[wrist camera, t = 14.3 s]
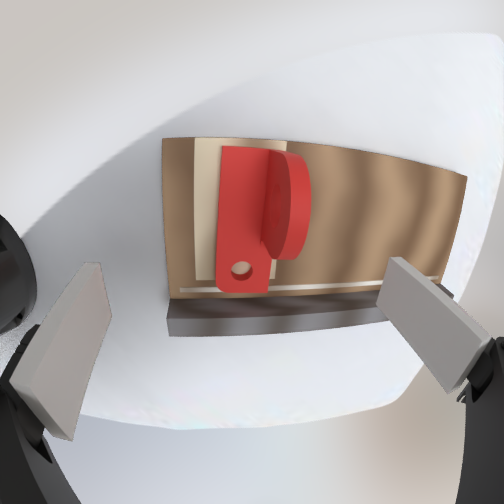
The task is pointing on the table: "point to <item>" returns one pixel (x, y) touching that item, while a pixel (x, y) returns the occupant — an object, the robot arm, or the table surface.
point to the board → (317, 241)
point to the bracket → (259, 214)
